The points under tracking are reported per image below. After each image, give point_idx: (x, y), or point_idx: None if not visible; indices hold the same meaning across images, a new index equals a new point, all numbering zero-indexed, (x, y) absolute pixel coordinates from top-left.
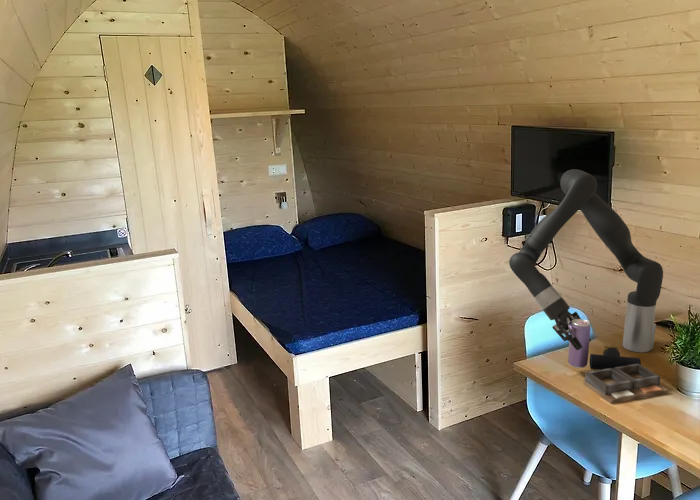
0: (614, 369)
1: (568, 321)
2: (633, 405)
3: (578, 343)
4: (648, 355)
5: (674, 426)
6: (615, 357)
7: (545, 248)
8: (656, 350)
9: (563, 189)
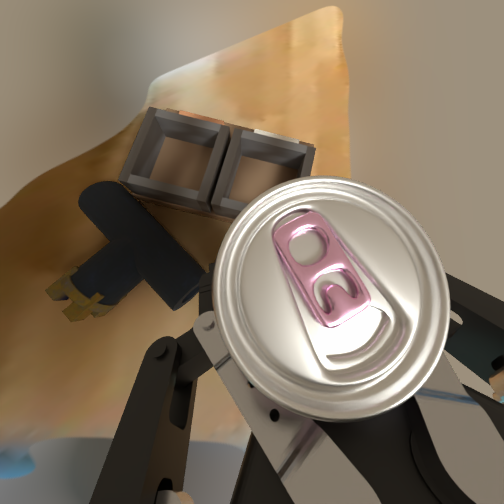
0: (208, 197)
1: (471, 406)
2: (275, 126)
3: None
4: None
5: (277, 54)
6: (138, 235)
7: None
8: None
9: None
